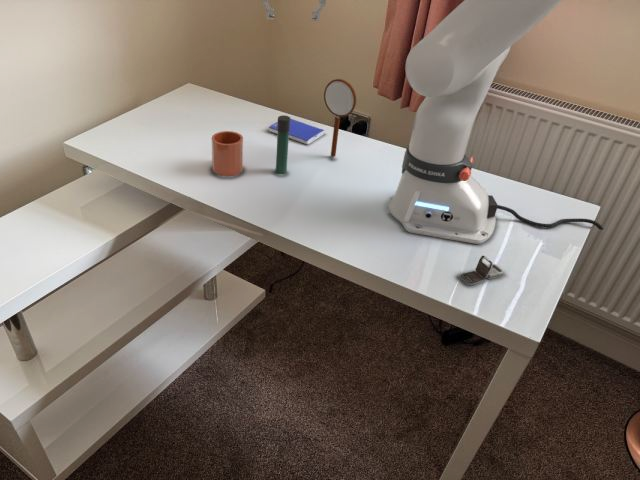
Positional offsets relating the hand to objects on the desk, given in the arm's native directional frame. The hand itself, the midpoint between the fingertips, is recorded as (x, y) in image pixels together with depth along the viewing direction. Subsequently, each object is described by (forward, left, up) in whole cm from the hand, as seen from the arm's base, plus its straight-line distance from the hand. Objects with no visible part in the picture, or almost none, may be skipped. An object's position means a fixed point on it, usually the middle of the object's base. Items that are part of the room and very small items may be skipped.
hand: (292, 19), depth 121 cm
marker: (-2, +6, -33) cm, 34 cm away
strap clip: (-52, +23, -33) cm, 66 cm away
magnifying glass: (-10, -7, -33) cm, 35 cm away
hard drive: (+4, -16, -33) cm, 37 cm away
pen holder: (+10, +11, -33) cm, 36 cm away
